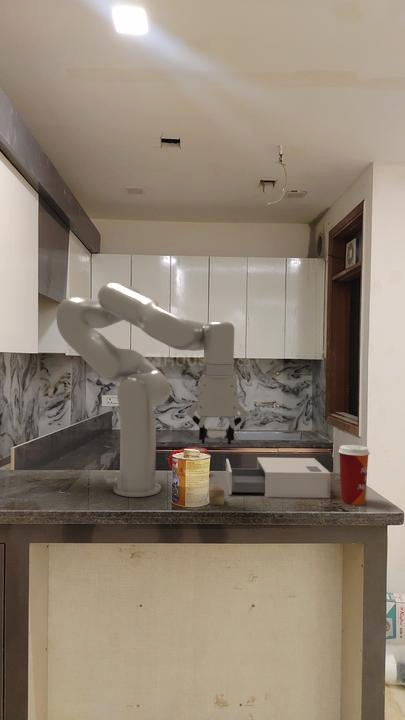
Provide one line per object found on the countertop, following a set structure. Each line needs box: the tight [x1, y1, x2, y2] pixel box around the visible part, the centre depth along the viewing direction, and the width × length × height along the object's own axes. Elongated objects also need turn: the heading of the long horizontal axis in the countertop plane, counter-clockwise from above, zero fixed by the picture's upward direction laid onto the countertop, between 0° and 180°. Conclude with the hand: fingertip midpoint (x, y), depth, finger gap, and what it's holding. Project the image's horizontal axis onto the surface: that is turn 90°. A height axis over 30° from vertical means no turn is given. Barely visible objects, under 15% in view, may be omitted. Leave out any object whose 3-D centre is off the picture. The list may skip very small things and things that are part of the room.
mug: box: [168, 446, 208, 470], centre depth 145 cm, size 8×12×8 cm, turn 85°
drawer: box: [224, 458, 265, 496], centre depth 132 cm, size 17×16×6 cm
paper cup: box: [337, 444, 371, 506], centre depth 120 cm, size 8×8×14 cm
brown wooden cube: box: [208, 485, 225, 506], centre depth 118 cm, size 4×4×4 cm
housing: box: [256, 456, 331, 499], centre depth 132 cm, size 17×18×7 cm
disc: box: [205, 426, 228, 440], centre depth 118 cm, size 6×6×2 cm
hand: (216, 442), depth 118 cm, fingers closed on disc, 5 cm apart
